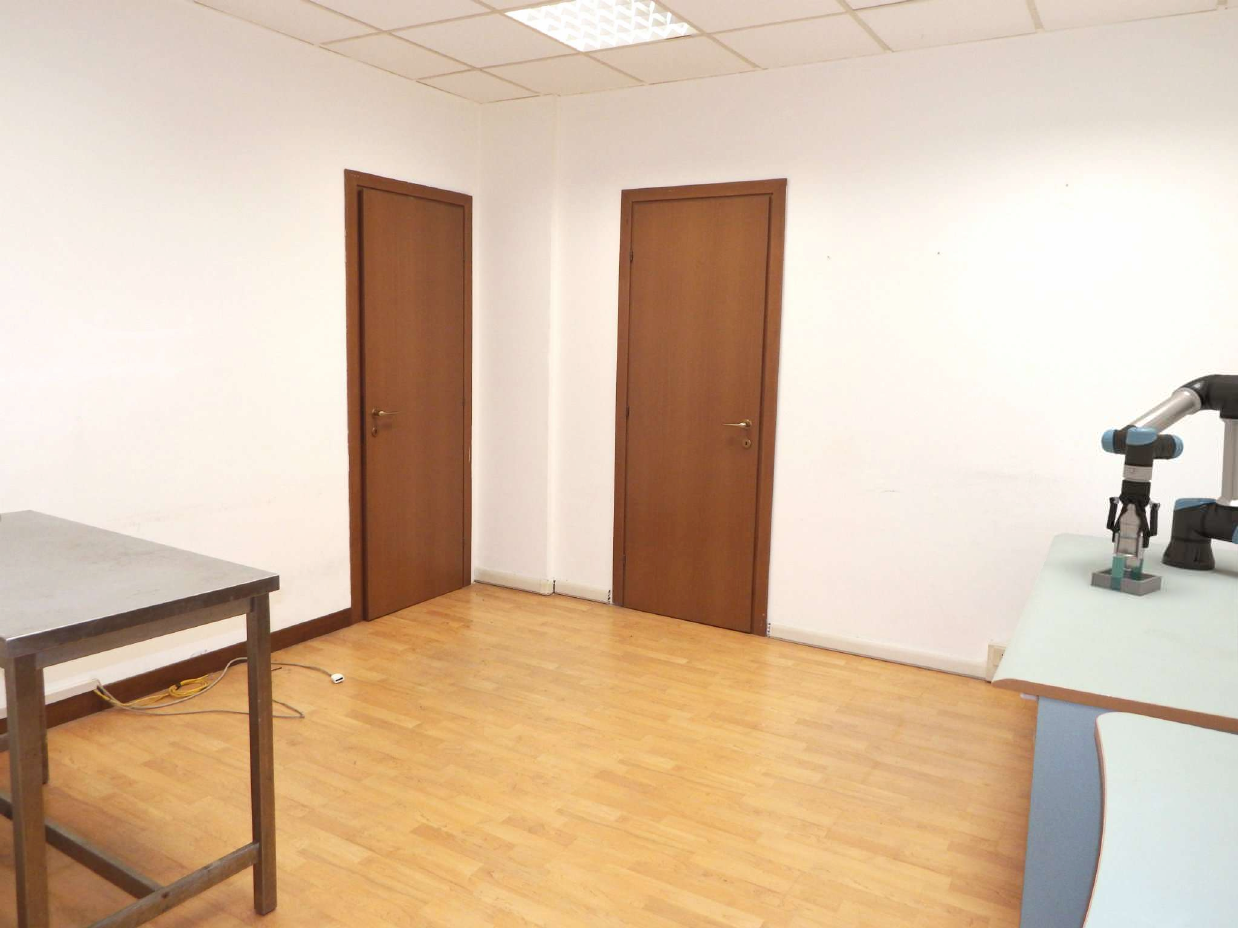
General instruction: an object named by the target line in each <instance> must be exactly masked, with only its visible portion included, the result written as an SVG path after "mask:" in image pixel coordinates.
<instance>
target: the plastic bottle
mask: <svg viewBox="0 0 1238 928" xmlns="http://www.w3.org/2000/svg"><path fill="white" fill-rule="evenodd" d="M1126 509H1127V510H1126V512H1125V513H1123V514H1122V515H1121V516H1120V519H1119V522H1120V523H1119V526H1120V531H1119V532H1120V541H1119V546H1118V552H1117V554H1115V556H1116V557H1122V558H1125V565H1124V569H1127V570H1131V569H1137V568H1138V567H1139V566H1140V562H1141V559H1137V558H1138V548H1139V539H1140V537H1142V530H1141V526H1140V524H1141V521H1140V518H1139V516H1138V515H1137V512H1136V507H1135V505H1134V504H1131V503H1129V504H1128V506H1127V508H1126Z"/></svg>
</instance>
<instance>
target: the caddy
mask: <svg viewBox="0 0 1238 928" xmlns="http://www.w3.org/2000/svg"><path fill="white" fill-rule="evenodd" d="M1144 559H1145V557H1144V558H1142V559H1141V562H1140V566H1139V567H1138V568H1137V569H1124V565H1125V558H1122V557H1116V555H1115V556H1112V562H1111V567H1107V568H1103V569H1100V570H1096V571H1092V572H1091V581H1090V585H1091V587H1092V586H1094V587H1096V588H1097V587H1098V588H1102V589H1108V590H1111V591H1116V592H1121V593H1124V594H1130V595H1134V596H1139V597H1142V596H1144V595H1149V594H1151V593H1153V592H1157V591H1160V590H1161V586H1162V577H1163V576H1162V575H1157V574H1152V573H1146V572H1143V570H1144Z"/></svg>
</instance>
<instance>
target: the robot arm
mask: <svg viewBox="0 0 1238 928" xmlns="http://www.w3.org/2000/svg"><path fill="white" fill-rule="evenodd" d="M1201 411H1219V419H1220V421H1222V422H1223V423H1224V428H1223V429H1224V430H1223V432H1224V433H1223V450H1222V452H1223V454H1222V468H1221V469H1222V472H1221V473H1222V474H1221V490H1220V491H1221V493H1220V497H1218V498H1217V499H1216V498H1213V497H1180V498H1178V499H1176V500H1175V501H1174V504H1173V505H1174V506H1173V509H1172V522H1171V529H1170V531H1171V532H1170V540H1169V542H1168V545H1167V547H1166V548H1165V550H1164V552H1163V554H1162V558H1161V559H1162V560H1161V562H1162V563H1163V564H1166V565H1167V566H1172V567H1176V568H1182V569H1186V570H1196V571H1197V570H1198V571H1210V570H1211V571H1212V570H1214V569H1215V567H1216V560H1215V556H1214V552H1213V547H1212V540H1217V541H1220V542H1226V543H1232V544H1234V545H1238V374H1220V373H1218V374H1217V373H1216V374H1215V373H1214V374H1208V375H1203V376H1201V377H1198V378H1195V379H1193V380H1190V381H1188V382H1186V383H1184V384H1182V385H1181V386H1179V387H1178V388H1176V389H1174V391H1173V392H1172V394H1171V396H1170V397H1168V398H1167V399H1165V400H1164V401H1162V402H1160V403H1159V404H1157V405H1156V406H1155V407H1153V408H1151V409H1150V410H1148V411H1147V412H1145V413H1144V414H1142V415H1141V416H1138V418H1136V419H1134V420H1133V421H1132V422H1130V423H1128V424H1126V425H1125V426H1124V427H1122V428H1121V429H1117V428H1114V429H1107V430H1105V431H1104V433H1103V434H1102V436H1101V438H1100V439H1101V440H1100V443H1101V448H1102V450H1104V452H1106V453H1111V454H1114V455H1121V456H1122V455H1124V462H1123V471H1122V478H1124V479H1122V481H1121V488H1120V494H1119V496H1110V497H1109V498H1108V499H1109V510H1108V514H1107V522H1106V529H1107V530H1110V531H1111V532H1112V536H1111V542H1112V543H1114V546H1113V555H1116V554H1117V552H1118V546H1119V541H1120V526H1119V523H1120V522H1119V519H1120V516H1121V515H1122V514H1123V513H1125V512H1126V510H1127V509H1126V508H1127V506H1128V504H1129V503H1131V504H1134V505H1135V507H1136V512H1137V515H1138V516H1139V518H1140V521H1141V524H1140V526H1141V530H1142V533H1141V537H1140V539H1139V548H1138V558H1137V559H1142V558H1144V559H1145V553H1146V549H1148V548H1149V546H1150V538H1152V537H1156V536H1157V535H1158V527H1159V526H1158V525H1159V524H1158V522H1159V509H1160V507H1161V503H1160V502H1155V501H1153V500H1151V496H1150V495H1151V487H1152V482H1151V480H1153V479H1152V478H1153V468H1154V461H1155V460H1166V461H1170V460H1172V459H1174V460H1175V459H1176V458H1178V457H1180V456H1181V455H1182V454H1183V452H1184V442H1183V440H1182V438H1180V437H1179V436H1178V435H1175V434H1170V433H1165V434H1163V433H1162V432H1164V431H1165V430H1166V429H1167V430H1168V428H1170V427H1172V426H1173V425H1174V424H1176V423H1177V422H1179V421H1181V419H1183V418H1185V417H1186V416H1192V415H1195V414H1197V413H1199V412H1201ZM1160 433H1161V434H1160ZM1119 503H1121V505H1122V507H1121V509H1120V512H1119V514H1118V517H1117V512H1118V507H1119V506H1118V505H1119ZM1148 506H1149V509H1150V511H1149V512H1150V513H1149V521H1148V518H1147V510H1146V507H1148ZM1148 522H1149V523H1148Z"/></svg>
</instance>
